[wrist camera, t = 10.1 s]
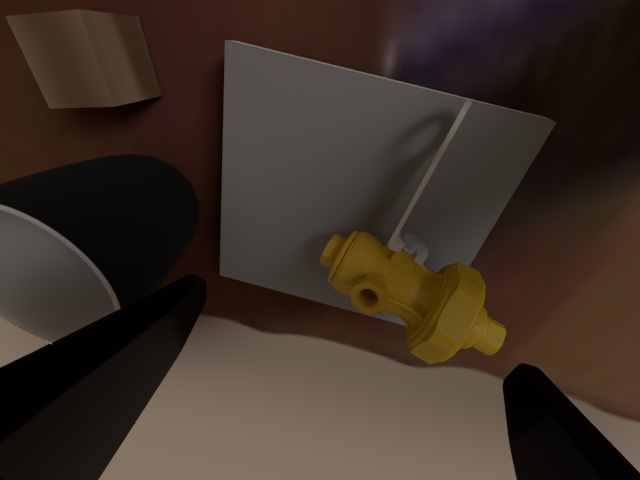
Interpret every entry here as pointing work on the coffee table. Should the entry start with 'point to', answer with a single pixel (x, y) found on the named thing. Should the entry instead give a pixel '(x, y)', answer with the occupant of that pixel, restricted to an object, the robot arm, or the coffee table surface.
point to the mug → (90, 240)
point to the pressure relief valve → (415, 286)
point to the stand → (355, 168)
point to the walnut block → (86, 57)
